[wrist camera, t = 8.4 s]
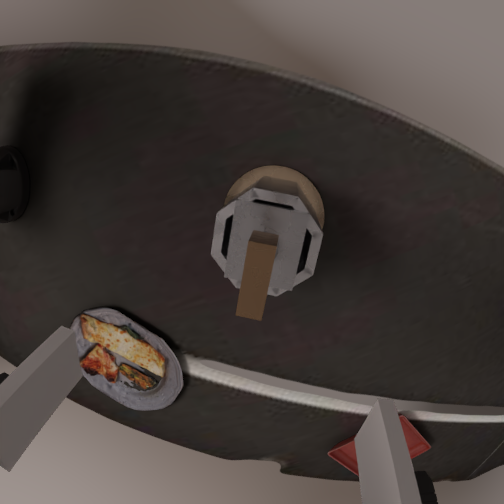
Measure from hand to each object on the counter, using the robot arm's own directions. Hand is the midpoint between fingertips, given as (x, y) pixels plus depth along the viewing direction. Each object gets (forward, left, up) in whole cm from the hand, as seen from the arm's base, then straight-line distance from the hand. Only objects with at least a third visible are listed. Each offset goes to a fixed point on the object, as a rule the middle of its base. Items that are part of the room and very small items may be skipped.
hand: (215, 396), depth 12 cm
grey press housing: (0, 0, -35) cm, 35 cm away
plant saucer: (+34, -44, -36) cm, 66 cm away
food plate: (-23, -33, -36) cm, 54 cm away
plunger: (0, 0, -31) cm, 31 cm away
